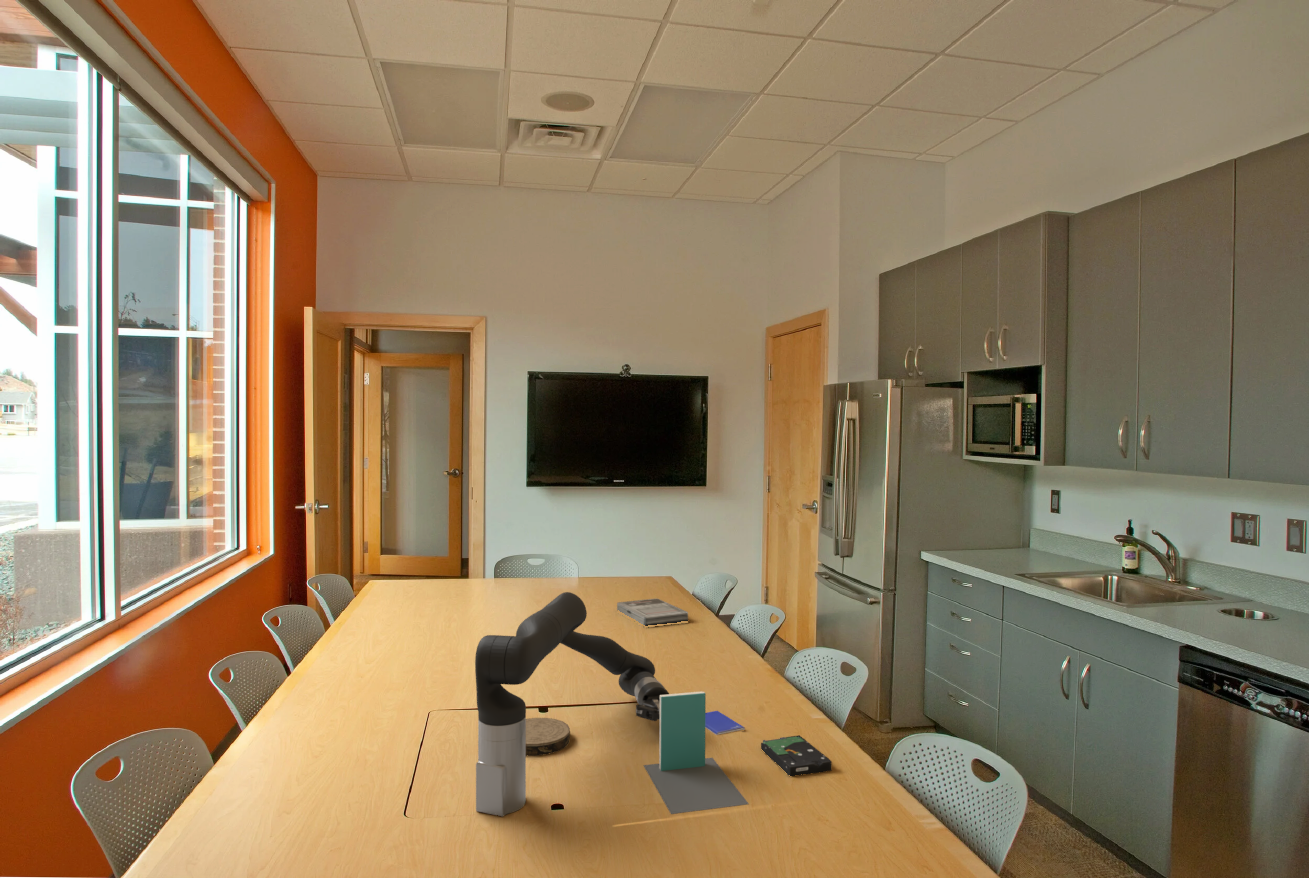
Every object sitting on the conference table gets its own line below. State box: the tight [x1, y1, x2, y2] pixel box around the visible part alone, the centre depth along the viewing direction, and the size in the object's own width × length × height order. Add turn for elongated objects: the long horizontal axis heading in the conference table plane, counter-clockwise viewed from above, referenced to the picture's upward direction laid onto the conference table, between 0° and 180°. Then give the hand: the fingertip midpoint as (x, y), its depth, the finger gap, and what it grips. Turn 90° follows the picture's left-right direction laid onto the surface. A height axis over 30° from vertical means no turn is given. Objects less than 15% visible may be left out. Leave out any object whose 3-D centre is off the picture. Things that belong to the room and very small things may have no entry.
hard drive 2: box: [705, 710, 746, 736], centre depth 194 cm, size 2×8×12 cm
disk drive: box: [760, 734, 832, 777], centre depth 174 cm, size 10×3×15 cm
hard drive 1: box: [616, 598, 689, 626], centre depth 302 cm, size 18×27×4 cm
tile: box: [658, 690, 707, 771], centre depth 169 cm, size 2×10×16 cm, turn 105°
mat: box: [643, 757, 749, 815], centre depth 161 cm, size 22×16×1 cm
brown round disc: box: [526, 717, 571, 757], centre depth 183 cm, size 16×16×3 cm
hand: (671, 722), depth 177 cm, fingers closed
